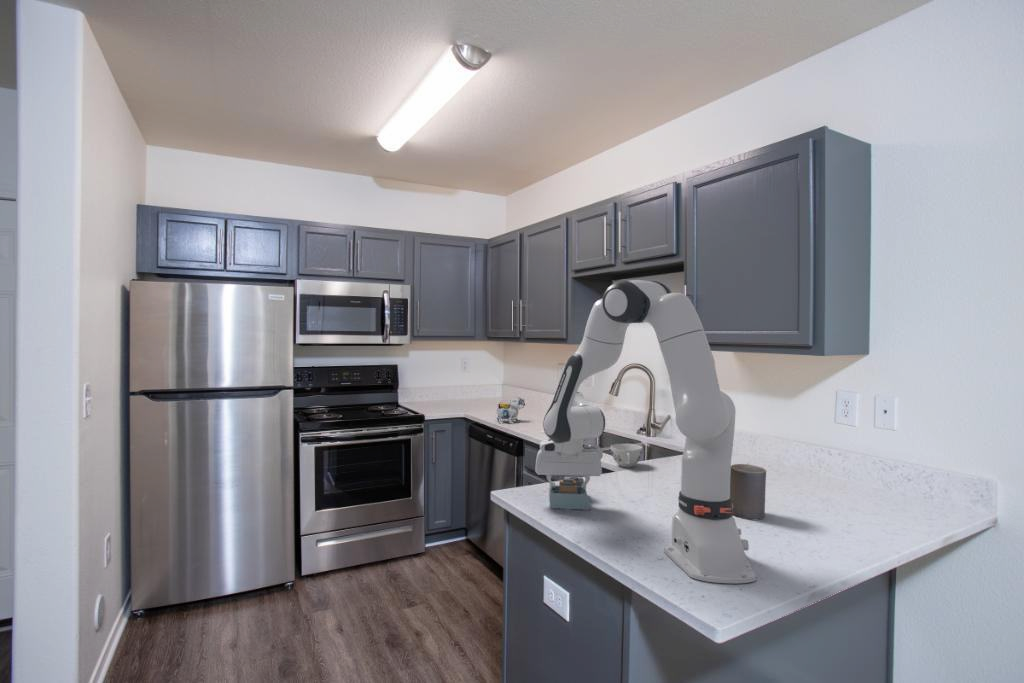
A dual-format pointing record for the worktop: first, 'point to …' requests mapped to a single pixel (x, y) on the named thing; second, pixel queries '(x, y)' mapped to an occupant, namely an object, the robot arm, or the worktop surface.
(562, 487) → the brown wooden block
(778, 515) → the worktop surface
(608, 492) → the worktop surface
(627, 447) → the teacup
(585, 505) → the teal open storage bin
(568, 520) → the worktop surface
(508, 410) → the robotic toy
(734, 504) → the pillar candle
